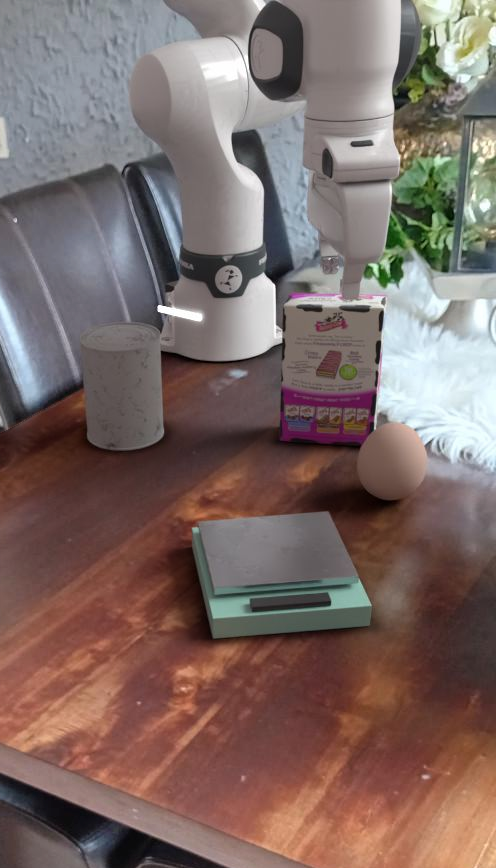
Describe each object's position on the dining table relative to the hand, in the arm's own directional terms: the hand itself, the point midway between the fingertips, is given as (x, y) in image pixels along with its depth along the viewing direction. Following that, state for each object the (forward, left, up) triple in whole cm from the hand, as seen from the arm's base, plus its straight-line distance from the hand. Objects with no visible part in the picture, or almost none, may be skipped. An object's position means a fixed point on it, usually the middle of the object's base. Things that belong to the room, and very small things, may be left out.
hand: (338, 285), depth 110 cm
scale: (+31, -12, -18) cm, 38 cm away
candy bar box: (0, 0, -18) cm, 18 cm away
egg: (+16, +3, -18) cm, 24 cm away
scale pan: (+30, -12, -15) cm, 36 cm away
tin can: (-5, -24, -18) cm, 31 cm away
